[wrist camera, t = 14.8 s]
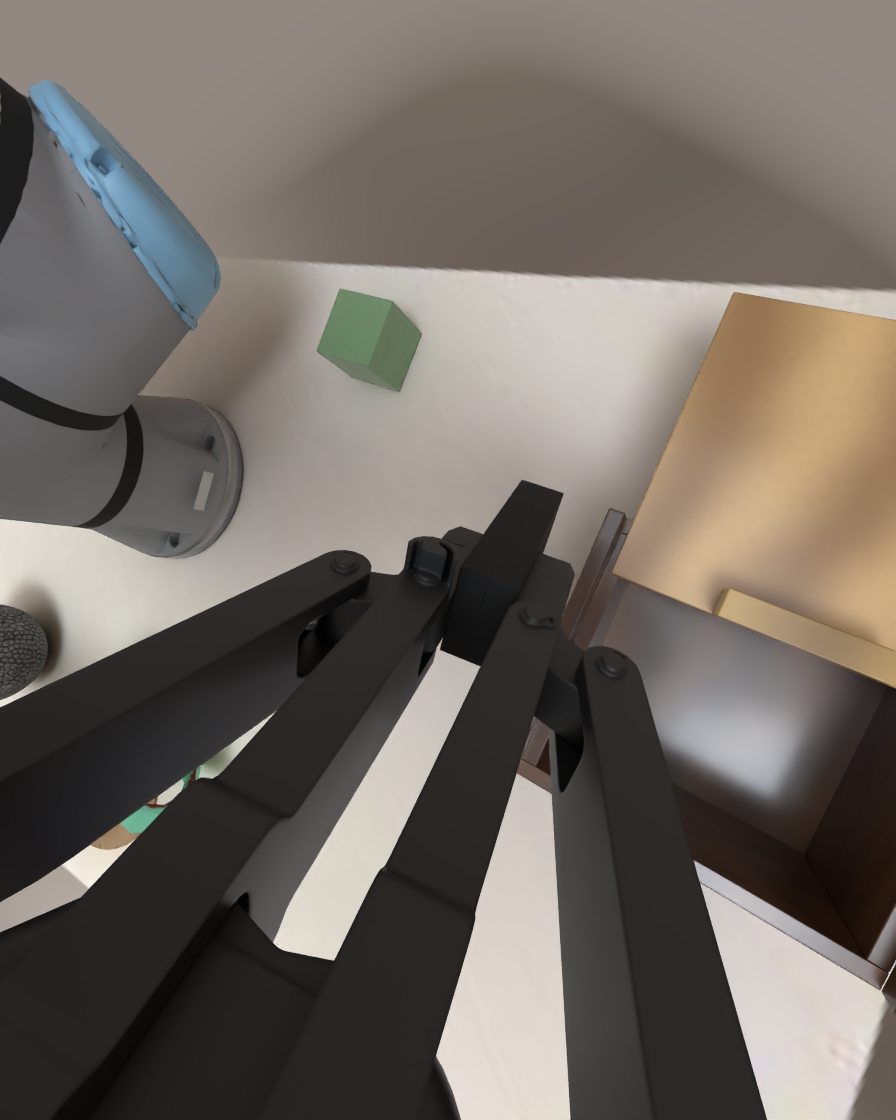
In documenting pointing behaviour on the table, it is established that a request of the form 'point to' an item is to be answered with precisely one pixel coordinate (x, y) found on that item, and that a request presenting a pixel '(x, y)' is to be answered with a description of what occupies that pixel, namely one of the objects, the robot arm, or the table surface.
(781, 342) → the sliding lid
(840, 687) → the walnut box
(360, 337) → the block
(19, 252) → the robot arm
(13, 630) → the decorative ball
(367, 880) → the table surface
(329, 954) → the table surface
